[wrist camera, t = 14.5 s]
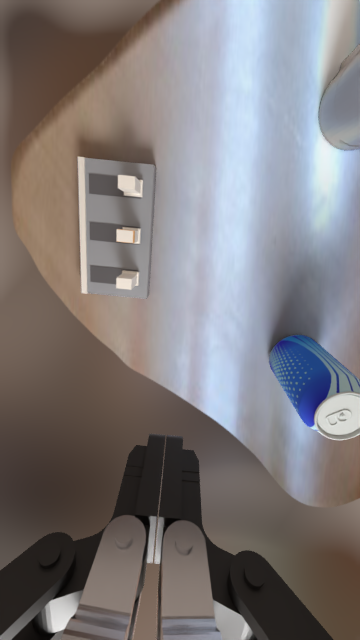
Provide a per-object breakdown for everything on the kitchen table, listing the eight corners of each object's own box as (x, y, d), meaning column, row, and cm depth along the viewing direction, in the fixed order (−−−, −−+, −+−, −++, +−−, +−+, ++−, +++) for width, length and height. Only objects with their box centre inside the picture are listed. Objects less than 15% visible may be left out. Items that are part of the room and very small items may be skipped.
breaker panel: (84, 161, 37) (60, 146, 30) (156, 168, 37) (149, 155, 30) (86, 289, 42) (67, 300, 36) (148, 295, 42) (141, 307, 36)
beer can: (275, 327, 44) (322, 379, 29) (324, 336, 44) (396, 392, 29) (261, 371, 46) (296, 440, 31) (307, 380, 47) (364, 451, 32)
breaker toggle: (123, 226, 36) (115, 226, 32) (141, 228, 36) (134, 228, 32) (123, 242, 37) (114, 243, 33) (140, 243, 37) (134, 245, 33)
